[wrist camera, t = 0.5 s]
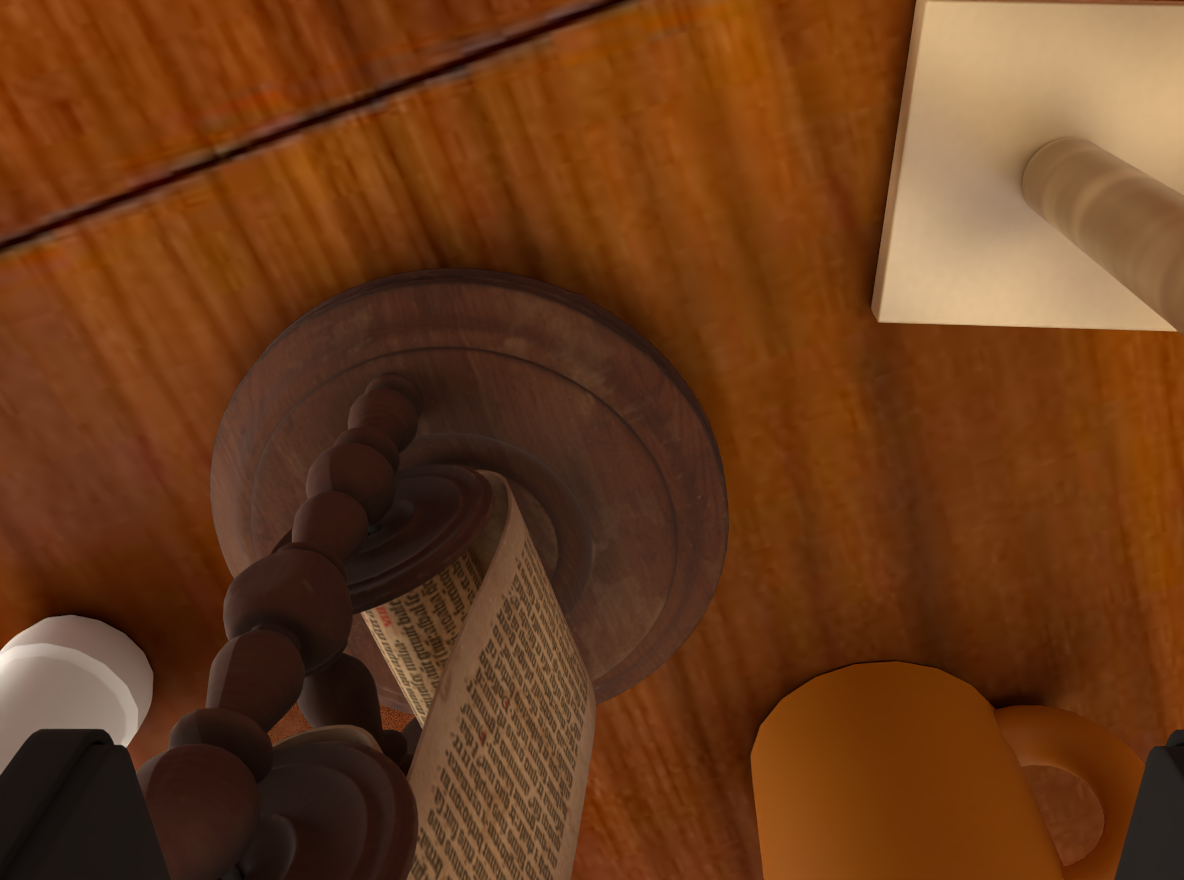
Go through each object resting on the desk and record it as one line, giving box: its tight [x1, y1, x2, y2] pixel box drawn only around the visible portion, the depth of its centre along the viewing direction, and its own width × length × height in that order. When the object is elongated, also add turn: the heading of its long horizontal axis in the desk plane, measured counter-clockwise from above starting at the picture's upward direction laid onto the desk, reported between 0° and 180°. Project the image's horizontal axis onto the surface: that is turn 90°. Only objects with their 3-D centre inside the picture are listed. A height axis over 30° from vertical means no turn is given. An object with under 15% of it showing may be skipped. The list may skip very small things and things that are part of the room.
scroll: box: [136, 268, 729, 880], centre depth 23 cm, size 15×15×20 cm
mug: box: [750, 661, 1145, 880], centre depth 32 cm, size 9×12×9 cm
